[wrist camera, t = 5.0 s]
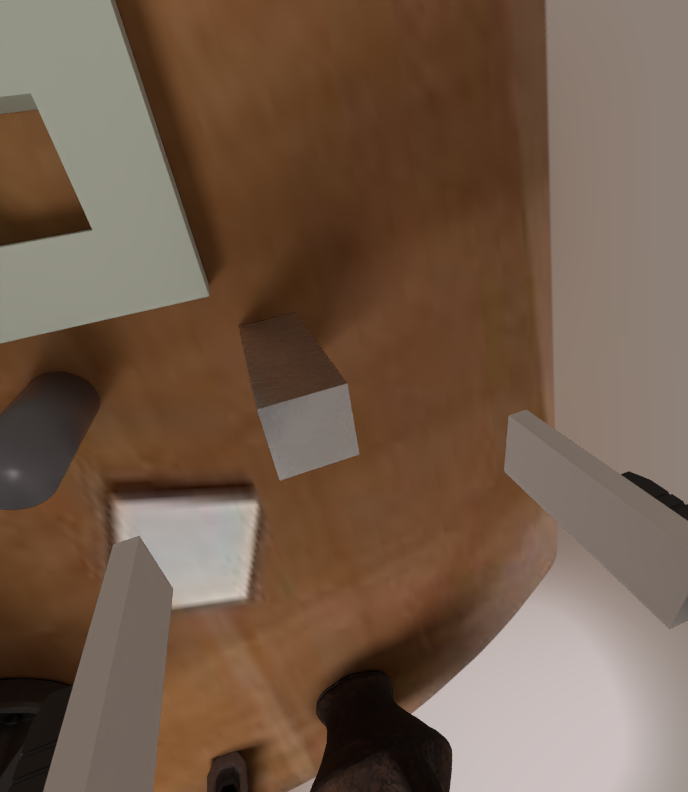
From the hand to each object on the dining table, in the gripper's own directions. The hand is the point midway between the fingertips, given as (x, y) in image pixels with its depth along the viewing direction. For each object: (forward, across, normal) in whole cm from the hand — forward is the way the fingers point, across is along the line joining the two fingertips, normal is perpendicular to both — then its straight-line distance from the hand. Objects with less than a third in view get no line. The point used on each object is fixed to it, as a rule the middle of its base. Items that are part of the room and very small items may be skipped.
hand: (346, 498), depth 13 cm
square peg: (+16, 0, 0) cm, 17 cm away
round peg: (+16, -14, 0) cm, 22 cm away
